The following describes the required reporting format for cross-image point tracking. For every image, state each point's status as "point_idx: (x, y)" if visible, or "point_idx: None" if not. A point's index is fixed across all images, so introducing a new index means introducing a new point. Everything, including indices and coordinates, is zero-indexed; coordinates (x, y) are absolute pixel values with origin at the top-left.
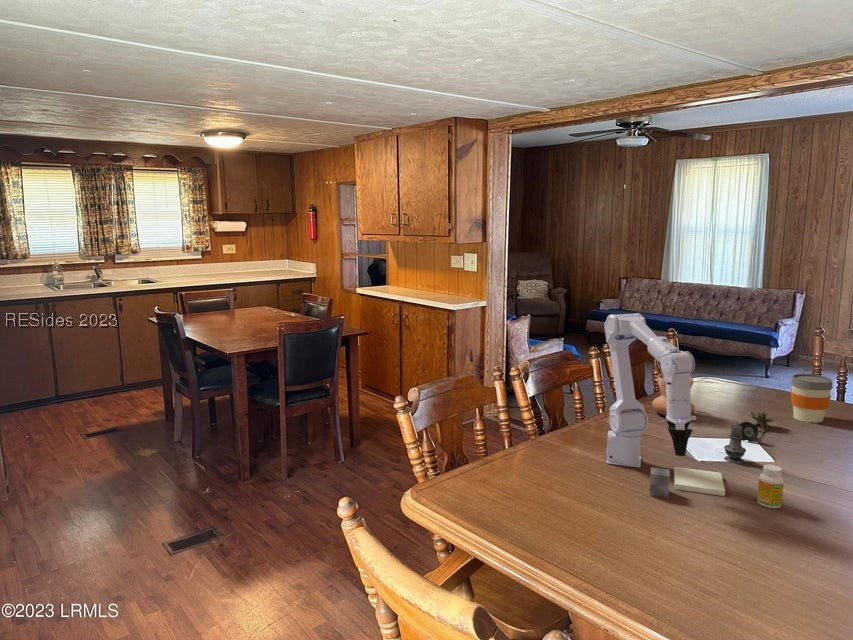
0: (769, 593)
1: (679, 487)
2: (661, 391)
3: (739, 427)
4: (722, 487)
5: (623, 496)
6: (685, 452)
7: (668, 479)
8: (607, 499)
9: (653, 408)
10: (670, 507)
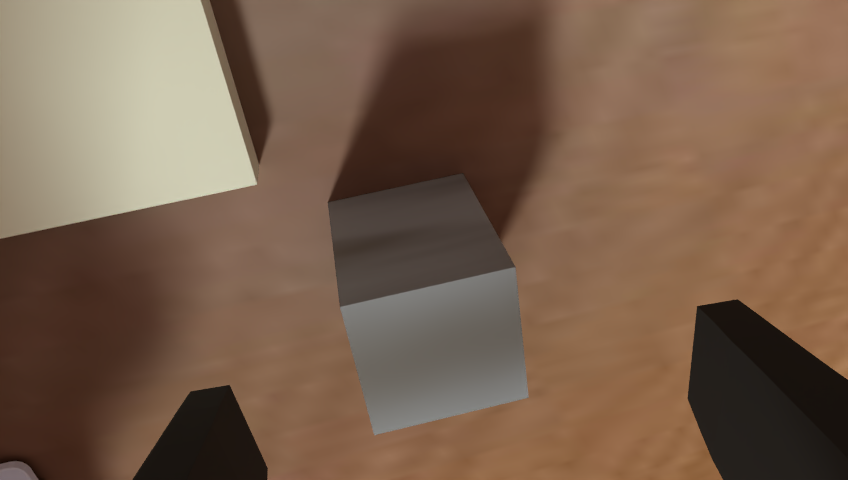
0: None
1: (247, 139)
2: None
3: None
4: None
5: (562, 396)
6: (778, 330)
7: (504, 257)
8: (634, 441)
9: None
10: (613, 128)
